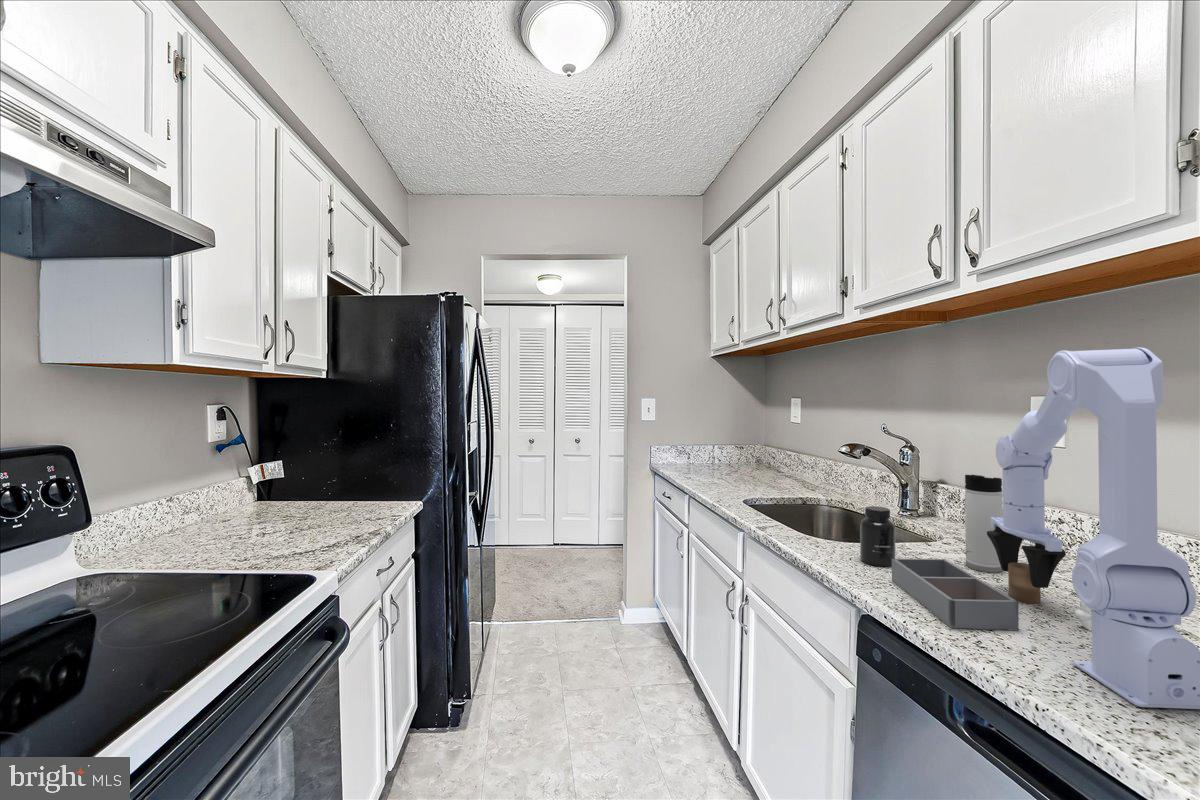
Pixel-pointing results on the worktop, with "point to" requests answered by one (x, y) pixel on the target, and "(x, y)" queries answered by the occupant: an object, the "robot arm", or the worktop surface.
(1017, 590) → the walnut cylinder
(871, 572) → the worktop surface
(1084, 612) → the marshmallow
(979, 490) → the travel mug
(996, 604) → the organiser
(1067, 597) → the worktop surface
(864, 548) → the supplement bottle
